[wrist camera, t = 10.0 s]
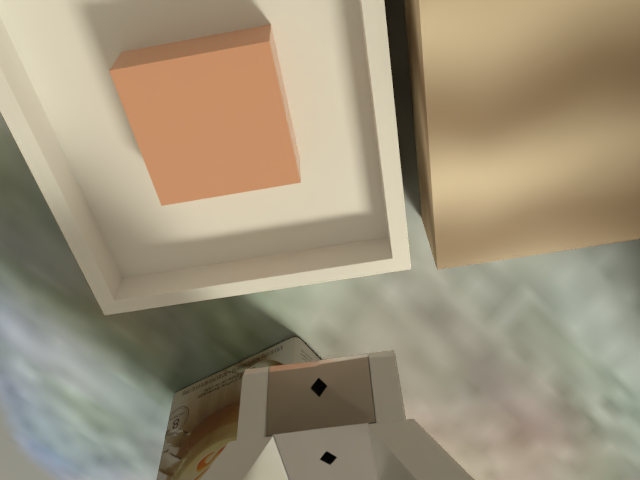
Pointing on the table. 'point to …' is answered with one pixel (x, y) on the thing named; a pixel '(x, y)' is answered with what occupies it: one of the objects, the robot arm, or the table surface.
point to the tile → (210, 114)
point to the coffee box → (215, 413)
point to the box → (223, 211)
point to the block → (525, 125)
